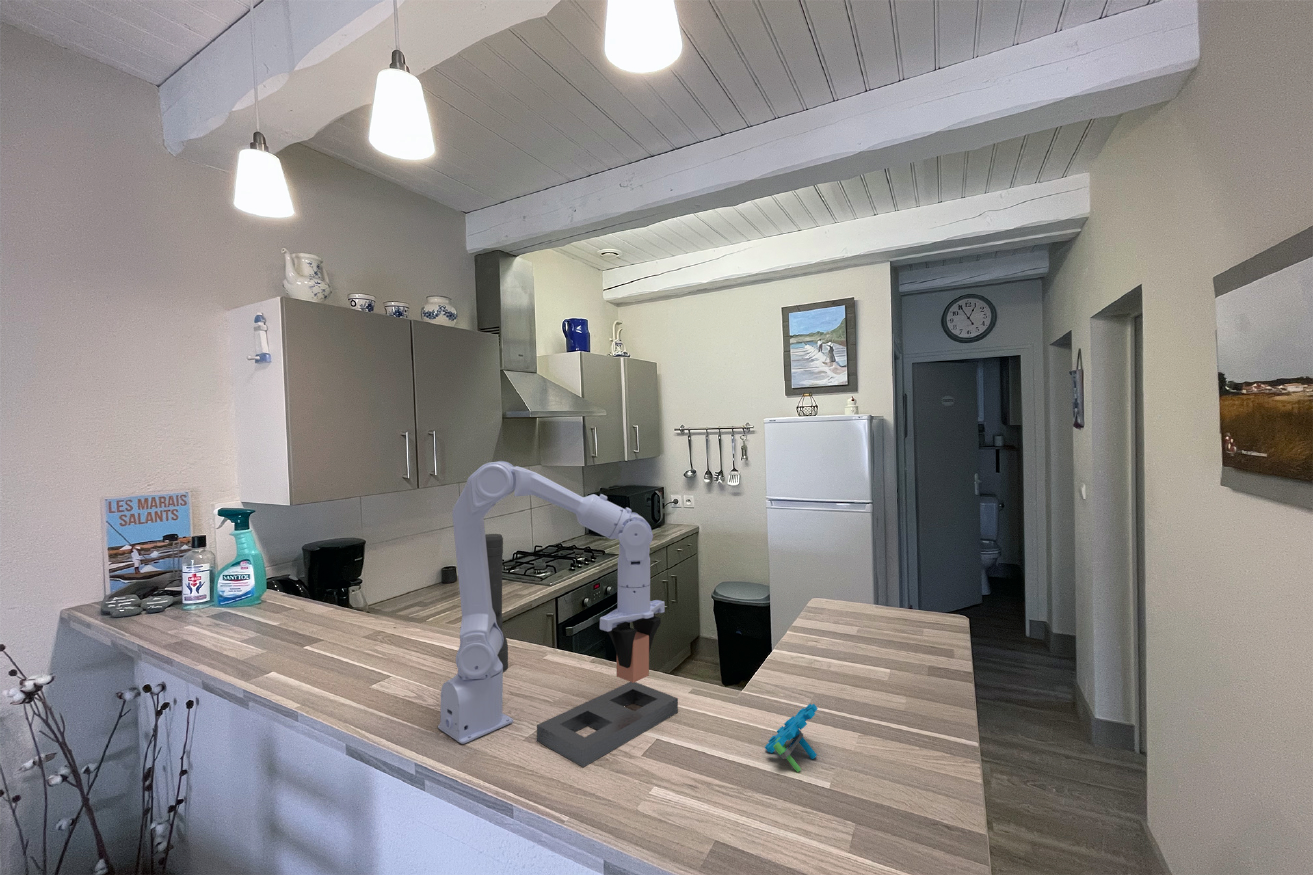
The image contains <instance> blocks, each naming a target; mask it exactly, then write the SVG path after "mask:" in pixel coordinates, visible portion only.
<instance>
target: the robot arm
mask: <svg viewBox="0 0 1313 875" xmlns="http://www.w3.org/2000/svg"><path fill="white" fill-rule="evenodd" d="M465 483H466V484H465V486H464V487H463V489H462V492H461V493H460V495H459V497H458V498H457V499H456V500H457V501H456V503H455V505H454V506H453V508H452V514H451V516H452V525H453V534H454V535H453V536H454V546H455V547H454V548H455V557H456V568H457V576H458V577H457V578H458V586H459V587H458V588H459V597H460V609H461V624H460V628H459V646H458V649H457V652H456V655H455V663H456V664H455V665H456V669H457V673H456V674H455V675H454V676H453V677H452V678H450V679H448V680H446V681H445V682H443V684H442V687H441V690H440V719H439V720H440V723H439V724H438V726H437V728H438V729H439V730H440V731H442V732H443V733H445V735H448V736H450V737H451V738H452V739H454V740H455V741H457V742H458V743H459V744H462V745H464V744H467V743H469V742H471V741H473V740H476V739H478V738H480V737H482V736H485V735H487V734H489V733H492V732H494V731H496V730H498V729H500V728H503V727H505V726H507V725H510V724H512V723H514V719H513V718H512V717H510V716H509V715H507V714H505V713H504V712H503V698H504V697H503V692H504V691H503V690H504V688H503V686H504V684H503V682H504V681H503V680H504V678H503V674H504V672H503V664H502V663H501V661H500V660H499V657H498V656H497V655H498V653H499V651H500V649H501V648H502V645H503V634H504V633H503V630H502V631H501V630H500V628H499V627H498V625H497V623H496V615H495V613H494V611H493V608H492V599H491V589H490V579H489V568H488V558H487V548H486V538H485V534H486V529H485V517H486V516H487V515H488V513H489V512H490V511H491V510H492V509H493V508H494V507H495V505H496V504H497V503H499V502H500V501H501V500H503V499H504V498H506V497H508V496H509V495H510V494H512V493H513V492H514V493H513V494H514V495H513V497H514V498H515V497H524V496H525V497H526V496H527V497H528V496H534V497H536V498H539V499H541V500H544V501H545V502H548V503H550V504H552V505H555V506H557V507H560V508H562V509H564V510H565V511H568V512H571V513H573V514H575V515H576V519H577V523H578V524H579V525H581V526H582V527H585V528H586V529H588V530H591V531H593V532H595V533H597V534H599V535H601V536H603V537H606V538H607V539H609V540H614V539H616V540H618V541H619V544H618V552H619V553H618V557H617V608H615V609H614V610H612V611H610V612H609V613H607V614H606V615H604V616H601V617H600V618H599V630H601V631H604V632H607V633H608V635H609V637H610V639H611V641H612V643H613V646H614V649H615V653H616V658H617V657H618V662H619V665H620V666H623V667H625V668H629V667H630V665H631V659H632V646H633V641H634V637H635V634H636V632H639V633H643V634H646V635H649V654H650V652H651V649H652V644H653V641H654V637H655V635H656V633H657V631H658V629H659V627H660V626H661V624H662V620H661V617H659V616H656V614H658V613H659V614H663V613H666V612H665V608H666V606H665V601H664V600H663V601H662V600H659V599H655V600H651V557H650V553H651V549H650V545H651V543H652V541H653V537H654V533H653V532H652V531H653V530H652V527H651V525H650V524H649V522H648V521H647V520H646V519H645V518H644V517H643V516H641V515H640V514H638V513H637V512H632V509H631V508H629V507H625V508H623V507H621V506H619V505H617V504H615V503H613V502H611V501H609V500H608V496H607V495H604V494H602V493H600V494H599V496H598V495H597V494H594V493H593V494H589V495H587V496H582V495H579V494H578V493H575V492H574V491H572V490H570V489H568V488H566V487H564V486H563V485H560V484H558V483H557V482H555V481H553V480H552V479H549V478H547V477H545V476H544V475H541V474H539V473H537V472H536V471H532V470H529V469H528V468H524V467H521V466H518V465H516V466H514V465H513V464H512V463H510V462H508V461H503V460H498V461H492V462H491V461H490V462H486V463H484V464H483V465H481V466H480V467H479V468H477V470H475V471H474V472H473V473H472V474H471V475H470V476H468V477H467V481H466V482H465ZM629 623H632V625H633V628H632V627H631V626H630V625H629ZM502 633H503V634H502Z"/></svg>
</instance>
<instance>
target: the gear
mask: <svg viewBox="0 0 1313 875" xmlns="http://www.w3.org/2000/svg"><path fill="white" fill-rule="evenodd" d="M817 710H818V707H817V705H815V703H812V704H811V703H809V704H808V705H806V706H805V707H803V708H801V709H799V710H798V712H797V713H796V715H795V716H794V715H792V716H791V717H790V718H789V719H787V720H786V721H785V722H784V723H783V725H784V726H783V725H782V726H781V727H780V728H778V729H777V730H776V734H775V735H774V734H773V735H772V736H771V737H770V738H769V740H768V741H767V742H768V743H766V745H765V746H764V749H765V751H767V753H770V754H773V753H774V752H775V751H776V753H777V754H778V755H779V756H780V758H781V759H782V760H785V759H786V760H787V762H789V764H790V766H791V767H792V768H793V769H794V770H795V771H796V773H799V772H800V771H801V770H802V768H801V767H800V765H799V764H798V763H797V762H796V760H795V759H794V758H793V757H792V756H791V754H792V753H793V751H794V750H795V748H796V746H797V745H798V744H799V745H800V747H801V748H802V749H803V750H804V751H805V753H806V754H807V756H809V758H810V759H811V760H814V759H815V758H816V757H817V756H818V754H817V752H816V751H815V750H814V749H813V748H812V746H810V744H809V743H808V742H807V740H806V739H805V738H804V733H803V732H802V730H803V729H804V728H805V727H806V726H807V725H808V723H807V720H808V721H810V720H812V719H813V717H814V716H815V715H816V712H817ZM787 741H788V742H789V741H791V742H790V744H789V745H788V747H787V744H786V742H787Z"/></svg>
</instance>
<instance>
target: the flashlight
mask: <svg viewBox="0 0 1313 875" xmlns="http://www.w3.org/2000/svg"><path fill="white" fill-rule="evenodd" d="M485 538H486V548H487V558H488V568H489V579H490V589H491V599H492V608H493V611H494V613H495V615H496V623H497V625H498V627H499V628H500V630H501V631H502V634H503V645H502V648H501V649H500V651H499V653H498V655H497V656H498V657H499V660H500V661H501V663H502V664H503V673H505V672H506V671H507V670H508V668H509V644H508V640H507V637H506V635H505V634H504V633H503V553H504V537H503V536H502V534H500V533H487V534H486V533H485Z"/></svg>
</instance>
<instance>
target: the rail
mask: <svg viewBox="0 0 1313 875" xmlns="http://www.w3.org/2000/svg"><path fill="white" fill-rule="evenodd" d="M629 704H630V705H631V704H634V705H637V706H639V707H640V708H637V709H635V710H633V709H631V708H629V707H627V705H628V706H630V705H629ZM624 706H626V707H624ZM678 707H679V698H678V697H676V696H673V695H672V694H671V695H670V694H668V693H665V692H662V691H661V690H658V689H655V688H652V687H649V686H647V685H645V684H642V683H639V682H638V681H636V682H634V683H632V682H630V681H628V682H626V683H625V684H623V685H620V686H618V687H616V688H614V689H611V690H610V691H608V692H605V693H603V694H601V695H598V696H596V697H595V698H592V699H590V700H588V701H585V702H583V703H581V704H579V705H578V706H575V707H572V708H571V709H568V710H566V711H564V712H562V713H560V714H558V715H555V716H553V717H550V718H549V719H547V720H544V721H543V722H540V723H538V724H536V742H538V743H540V744H541V745H543V746H545V747H547V748H549V749H550V750H552V751H553V752H556V753H557V754H559V755H561V756H562V757H564V758H566V759H568V760H569V761H571V762H573V763H575V764H577V765H578V766H579V767H582V768H585V767H586V766H588V765H590V764H591V763H593V762H595V761H596V760H597V761H598V759H600V758H602V757H604V756H606V755H607V754H609V753H610V752H613V751H614V750H616V749H618V748H619V747H621V746H623V745H625V744H626V743H628V742H630V741H631V740H633V739H635V738H637V737H638V736H639V735H642V734H644V733H645V732H647V731H648V730H650V729H652V728H654V727H656V726H657V725H659V724H660V723H663V722H664V721H666V720H668V719H670V718H671V717H673V716H675V715H676V714H678V713H679V708H678ZM674 714H675V715H674ZM670 716H671V717H670ZM586 727H590V728H591V729H593V730H596V731H594V732H592V733H590V734H588V735H586V736H583V735H581V734H579V733H577V732H578V731H580V730H582V729H585V728H586Z"/></svg>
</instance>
